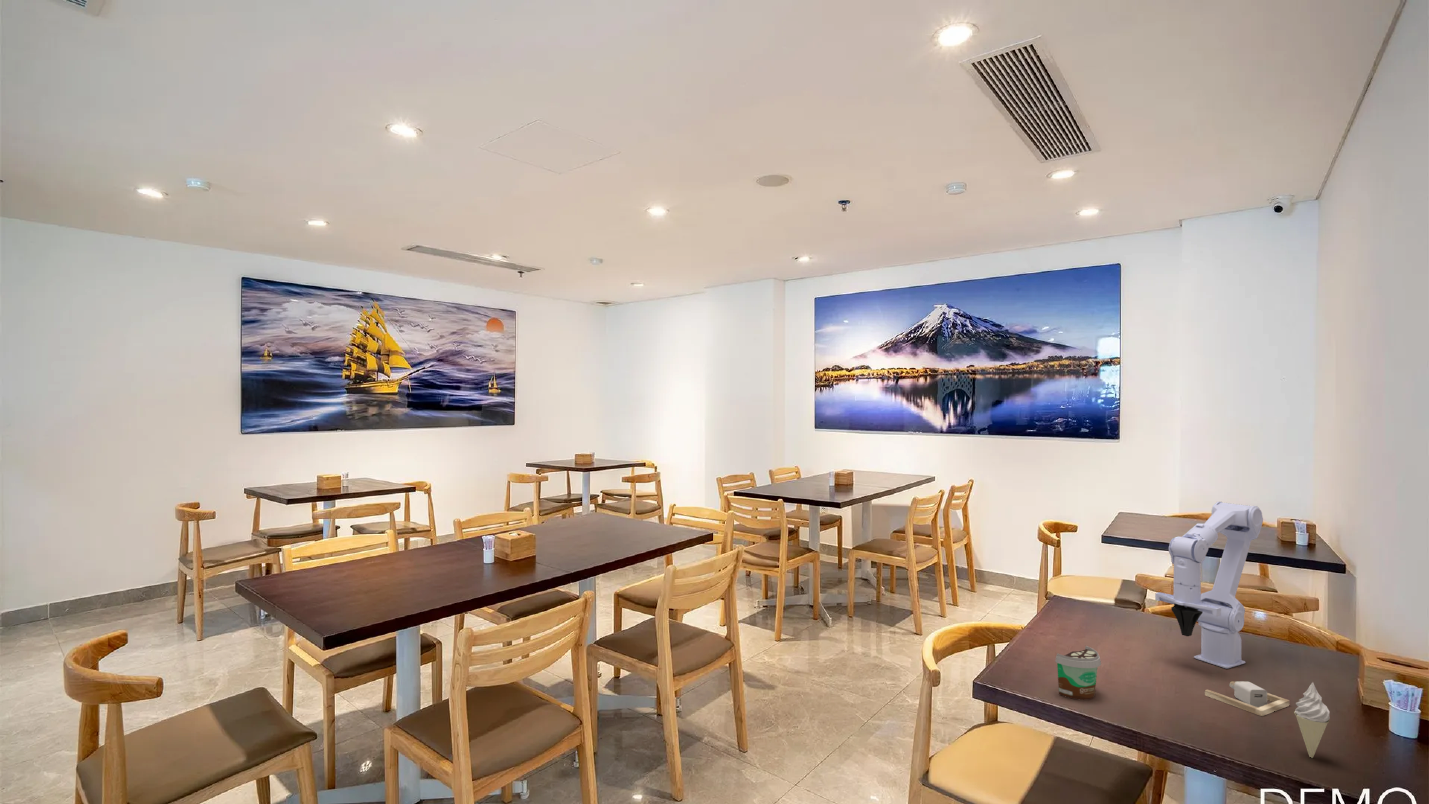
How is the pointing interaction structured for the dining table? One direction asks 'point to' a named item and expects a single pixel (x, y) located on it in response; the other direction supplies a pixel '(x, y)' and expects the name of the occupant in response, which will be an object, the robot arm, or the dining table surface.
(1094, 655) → the food container
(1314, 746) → the ice cream cone
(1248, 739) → the dining table surface
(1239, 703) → the charger bay
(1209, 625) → the robot arm
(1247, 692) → the usb wall charger
